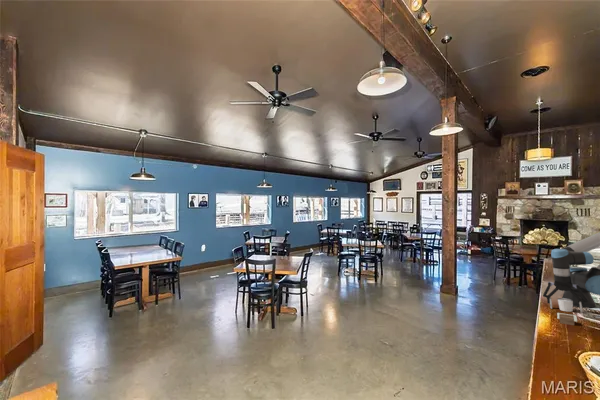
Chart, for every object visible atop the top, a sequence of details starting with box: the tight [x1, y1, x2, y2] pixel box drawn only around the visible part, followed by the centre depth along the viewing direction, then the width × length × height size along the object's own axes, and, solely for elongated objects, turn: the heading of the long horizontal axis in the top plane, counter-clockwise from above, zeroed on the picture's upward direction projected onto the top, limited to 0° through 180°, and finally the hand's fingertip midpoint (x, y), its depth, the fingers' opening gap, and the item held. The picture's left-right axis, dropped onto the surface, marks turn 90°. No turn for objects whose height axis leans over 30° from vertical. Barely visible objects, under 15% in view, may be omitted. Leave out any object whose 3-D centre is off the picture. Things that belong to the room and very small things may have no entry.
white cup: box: [557, 297, 574, 313], centre depth 166 cm, size 7×7×7 cm
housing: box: [559, 313, 575, 326], centre depth 149 cm, size 6×6×4 cm
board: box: [556, 312, 578, 322], centre depth 156 cm, size 11×8×1 cm
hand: (566, 311), depth 166 cm, fingers open, 12 cm apart
